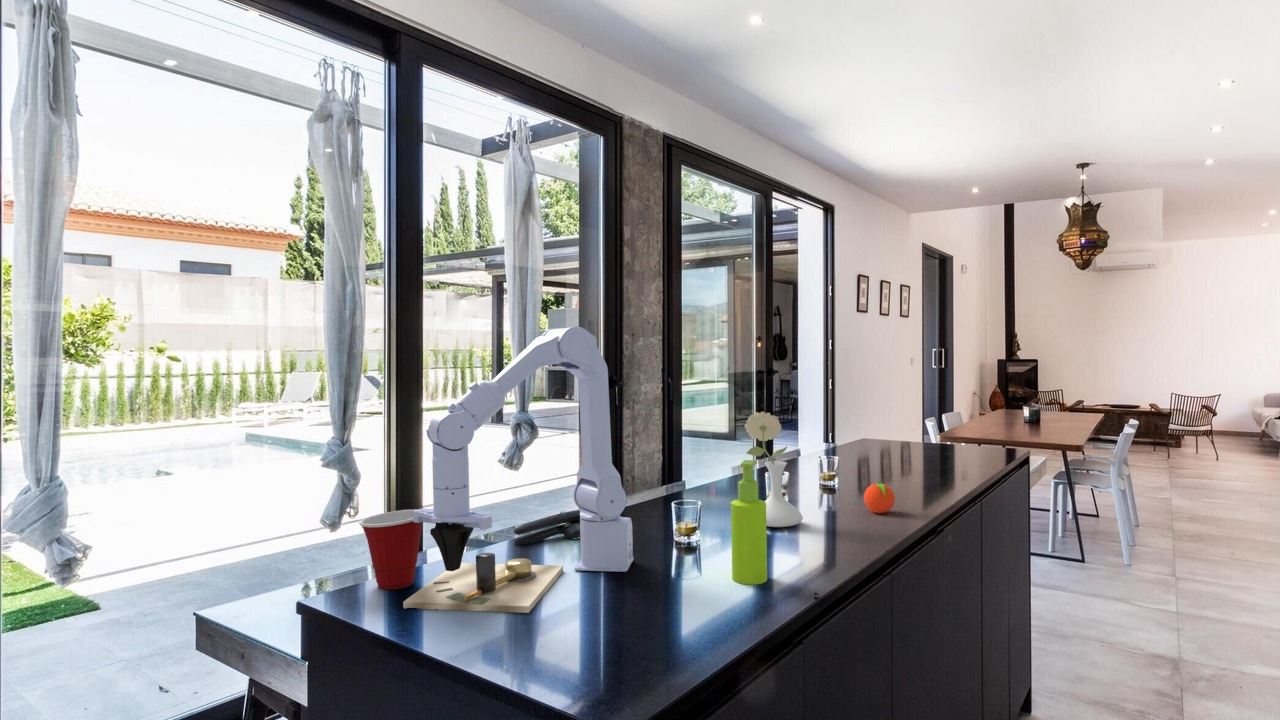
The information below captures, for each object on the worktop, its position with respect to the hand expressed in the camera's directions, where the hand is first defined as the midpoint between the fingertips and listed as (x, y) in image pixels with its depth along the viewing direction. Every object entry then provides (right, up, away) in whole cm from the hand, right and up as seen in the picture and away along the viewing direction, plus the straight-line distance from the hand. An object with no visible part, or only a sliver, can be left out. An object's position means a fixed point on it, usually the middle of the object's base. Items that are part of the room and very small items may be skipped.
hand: (453, 569), depth 122 cm
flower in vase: (+60, -3, +43) cm, 74 cm away
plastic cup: (-11, -4, +5) cm, 13 cm away
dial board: (+5, -4, +2) cm, 7 cm away
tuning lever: (+7, -2, 0) cm, 8 cm away
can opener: (+12, -4, +34) cm, 37 cm away
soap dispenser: (+49, -3, +6) cm, 50 cm away
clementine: (+87, -2, +53) cm, 101 cm away
